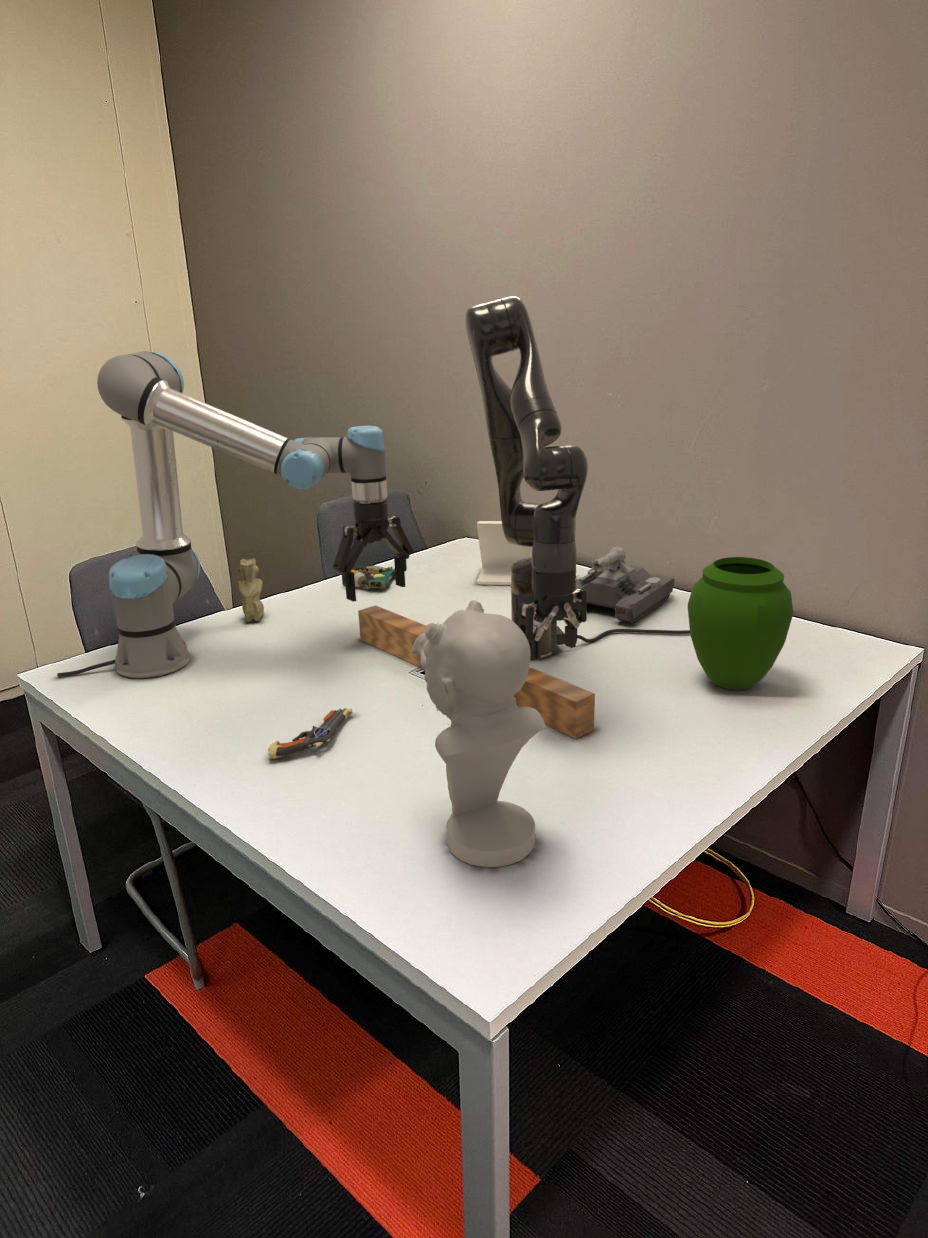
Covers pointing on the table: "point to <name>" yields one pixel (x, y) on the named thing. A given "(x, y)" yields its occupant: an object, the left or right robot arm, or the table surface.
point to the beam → (540, 691)
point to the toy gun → (311, 735)
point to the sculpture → (250, 590)
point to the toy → (623, 587)
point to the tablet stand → (497, 554)
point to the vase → (739, 620)
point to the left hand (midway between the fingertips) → (376, 592)
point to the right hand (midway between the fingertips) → (552, 652)
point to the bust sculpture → (481, 729)
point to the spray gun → (373, 576)
